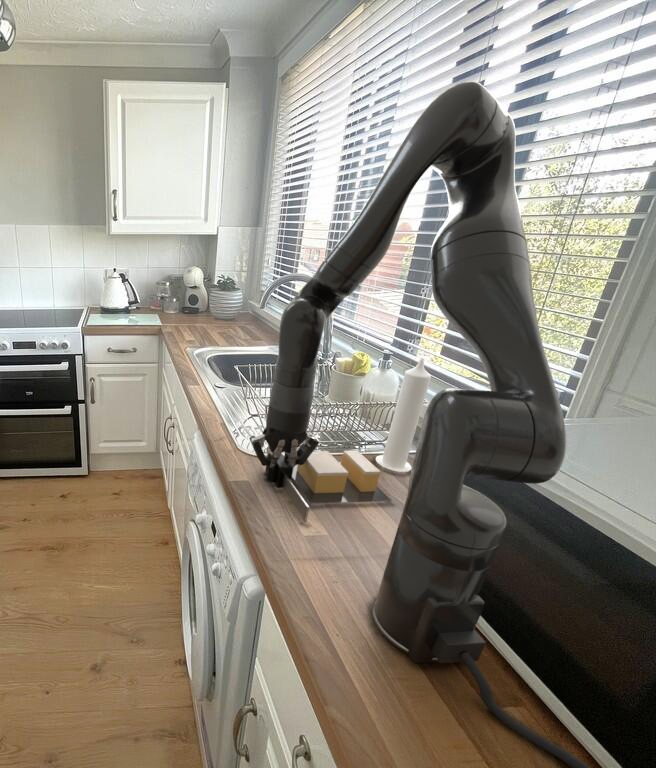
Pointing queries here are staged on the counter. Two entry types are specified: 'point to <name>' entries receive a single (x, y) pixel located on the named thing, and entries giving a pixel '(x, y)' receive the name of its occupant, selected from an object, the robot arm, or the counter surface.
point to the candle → (405, 419)
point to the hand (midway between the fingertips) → (277, 480)
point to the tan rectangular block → (323, 473)
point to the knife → (290, 486)
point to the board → (348, 495)
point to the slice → (360, 471)
